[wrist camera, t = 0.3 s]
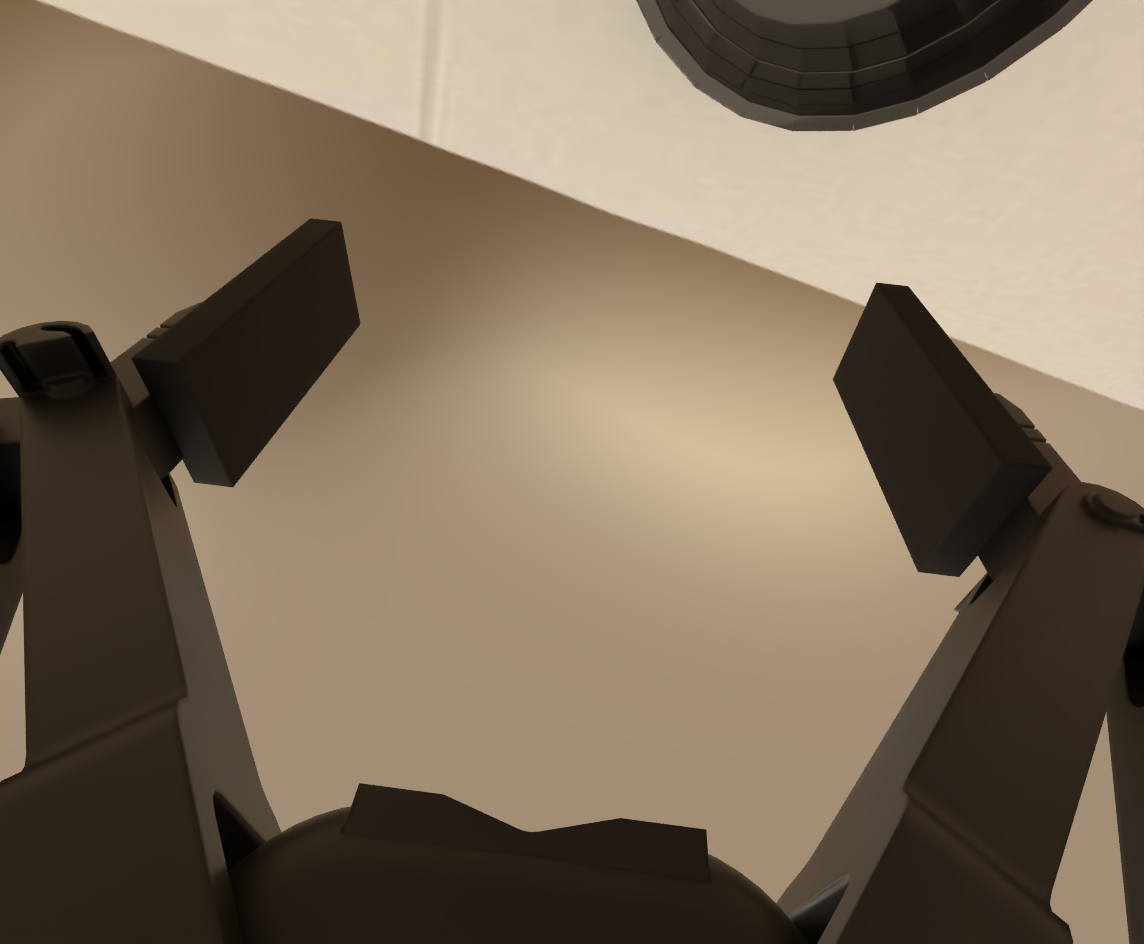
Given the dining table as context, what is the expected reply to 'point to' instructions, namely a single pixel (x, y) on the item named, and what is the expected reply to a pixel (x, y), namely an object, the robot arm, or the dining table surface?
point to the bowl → (847, 53)
